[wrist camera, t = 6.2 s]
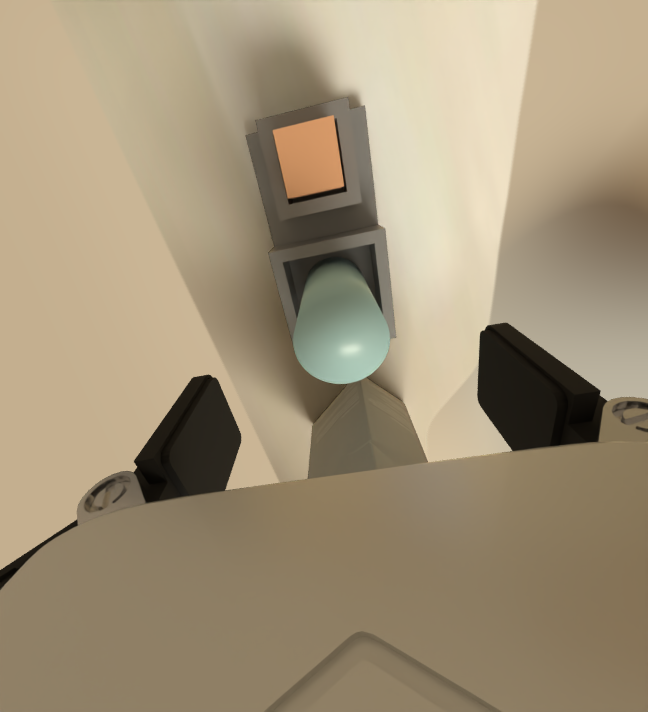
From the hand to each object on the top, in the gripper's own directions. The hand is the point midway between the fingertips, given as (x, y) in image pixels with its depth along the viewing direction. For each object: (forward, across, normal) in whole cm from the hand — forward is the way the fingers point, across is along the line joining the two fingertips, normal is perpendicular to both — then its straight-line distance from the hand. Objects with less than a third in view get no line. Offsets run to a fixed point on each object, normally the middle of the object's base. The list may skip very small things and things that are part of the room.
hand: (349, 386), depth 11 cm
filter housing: (+17, 0, -3) cm, 17 cm away
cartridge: (+16, 0, +1) cm, 16 cm away
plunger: (+15, 0, -8) cm, 17 cm away
